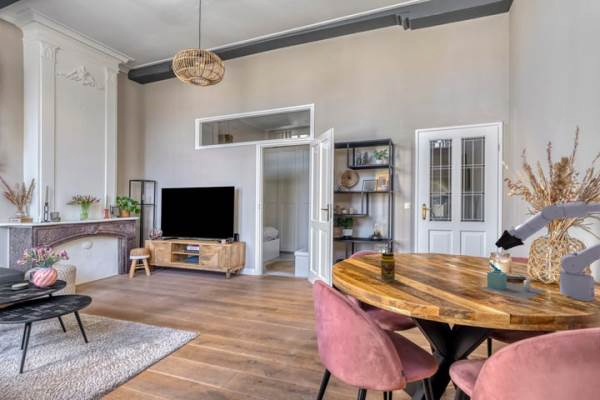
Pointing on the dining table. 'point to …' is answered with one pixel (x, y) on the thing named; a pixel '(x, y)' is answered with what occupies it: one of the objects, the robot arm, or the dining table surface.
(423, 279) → the dining table surface
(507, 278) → the teal bent piece
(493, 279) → the teal block
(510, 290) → the post board
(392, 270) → the condiment
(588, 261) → the robot arm
